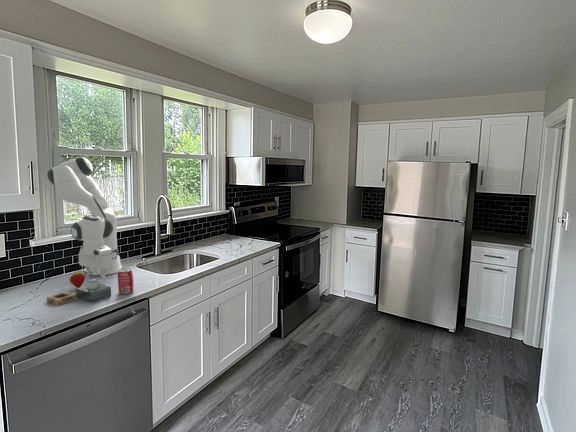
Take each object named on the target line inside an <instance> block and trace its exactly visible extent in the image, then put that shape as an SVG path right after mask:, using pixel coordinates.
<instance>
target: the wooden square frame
mask: <svg viewBox="0 0 576 432" xmlns="http://www.w3.org/2000/svg"><path fill="white" fill-rule="evenodd" d="M73 301H77V298H76V293H73V292H69V291H66V290H65V291H62V292H59V293H56V294H53V295H49V296H46V303H49V304H51V305H55V306H61V305H65V304H67V303H70V302H73Z"/></svg>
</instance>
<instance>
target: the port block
mask: <svg viewBox="0 0 576 432" xmlns="http://www.w3.org/2000/svg"><path fill="white" fill-rule="evenodd" d="M75 294H76V300H77V299H78V300H81V301H84V302H85V303H86V302H87V303H90V304H93V303H97V302H99V301H102V300H104V299H107V298H110V297H112V287H111V285H110V286H109V285H106V284H101V283H99V282H98V288H96V289H93V290H90V289H88V284H86V285H84V286H83V285H82V286H81V287H79V288H77V287H75Z"/></svg>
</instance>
